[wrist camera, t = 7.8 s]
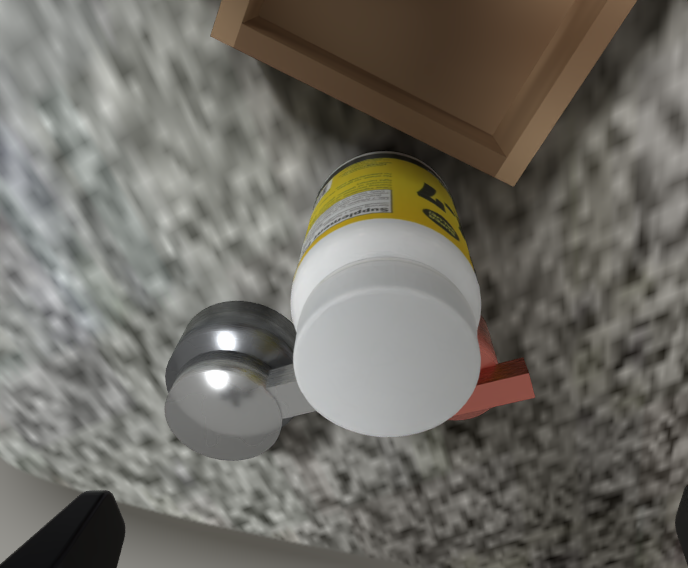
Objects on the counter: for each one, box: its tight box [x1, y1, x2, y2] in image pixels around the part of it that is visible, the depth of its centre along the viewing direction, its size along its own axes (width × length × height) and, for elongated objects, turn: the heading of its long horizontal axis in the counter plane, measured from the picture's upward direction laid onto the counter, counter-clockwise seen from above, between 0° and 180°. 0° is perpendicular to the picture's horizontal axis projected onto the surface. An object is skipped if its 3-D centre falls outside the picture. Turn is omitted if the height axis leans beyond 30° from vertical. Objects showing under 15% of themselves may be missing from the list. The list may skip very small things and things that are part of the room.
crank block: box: [165, 301, 297, 428], centre depth 21 cm, size 5×5×2 cm
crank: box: [165, 315, 535, 461], centre depth 18 cm, size 12×4×3 cm, turn 110°
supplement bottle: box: [291, 151, 481, 437], centre depth 16 cm, size 5×5×8 cm
